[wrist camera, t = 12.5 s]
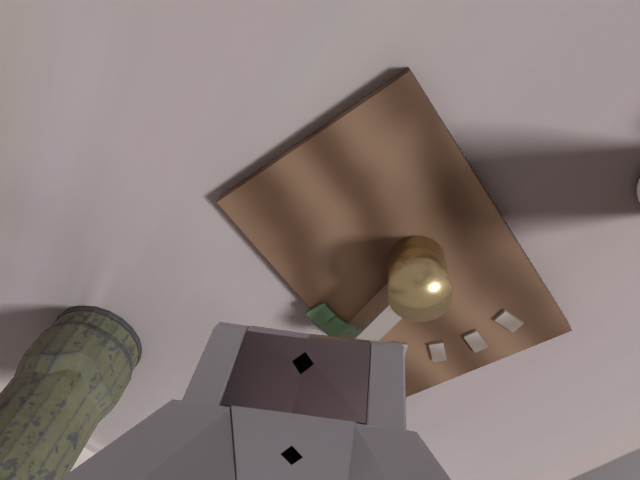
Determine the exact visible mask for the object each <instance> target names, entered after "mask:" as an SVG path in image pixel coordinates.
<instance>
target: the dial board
mask: <svg viewBox="0 0 640 480" xmlns="http://www.w3.org/2000/svg"><path fill="white" fill-rule="evenodd" d="M217 204H218V205H219V206H220V207H221V208H222V209H223V210H224V212H225V213H226V214H227V215H228V216H229V217H230V218H231V220H232V221H233V222H234V223H235V224H236V225H237V226H238V227H239V229H240V230H241V231H242V232H243V233H244V234H245V235H246V236H247V238H248V239H249V240H250V241H251V242H252V243H253V244H254V246H255V247H256V248H257V249H258V250H259V251H260V252H261V253H262V255H263V256H264V257H265V258H266V259H267V260H268V261H269V262H270V264H271V265H272V266H273V267H274V268H275V269H276V270H277V272H278V273H279V274H280V275H281V276H282V277H283V278H284V279H285V281H286V282H287V283H288V284H289V285H290V286H291V287H292V288H293V290H294V291H295V292H296V293H297V294H298V295H299V296H300V298H301V299H302V300H303V301H304V302H305V303H306V304H307V305H308V307H309V308H310V310H308V311H306V315H307V316H308V317H309V318H310V319H311V320H312V321H313V322H314V323H315V324H316V325H317V326H318V327H319V328H320V329H321V330H322V331H324V332H325V333H327V334H328V335H329V336H334V337H339V333H340V331H341V330H342V329H343V328H344V327H345V326H346V325H347V324H348V323H349V322H350V321H351V320H352V319H353V318H354V317H355V316H356V315H357V314H358V313H359V312H360V311H361V310H362V309H363V308H364V307H365V306H366V305H367V304H368V302H369V301H370V300H371V299H372V298H373V297H374V296H375V295H376V294H377V293H378V292H379V291H380V290H381V289H382V288H383V287H384V286H385V285H386V284H387V283H388V255H389V252H390V250H391V248H392V247H393V246H394V245H395V244H396V243H397V242H398V241H400V240H401V239H403V238H406V237H409V236H425V237H429V238H431V239H433V240H435V241H436V242H437V243H438V244H439V245H440V246H441V247H442V248H443V250H444V253H445V258H446V263H447V269H448V274H449V280H450V285H451V291H452V302H451V305H450V307H449V308H448V310H447V311H446V312H445V313H444V314H443V315H441V316H440V317H438V318H436V319H434V320H431V321H426V322H413V321H409V320H406V319H403V318H402V319H401V320H400V321H399V322H398V323H397V324H396V325H395V326H394V327H393V328H391V329H390V330H389V331H388V332H387V333H386V334H385V335H384V336H383V337H382V338H381V339H380V340H379V341H383V342H392V343H402V344H403V346H404V348H405V392H406V397H408V396H410V395H413V394H415V393H418V392H420V391H423V390H425V389H427V388H430V387H432V386H435V385H437V384H440V383H442V382H445V381H447V380H450V379H452V378H455V377H457V376H460V375H462V374H465V373H467V372H470V371H472V370H475V369H477V368H480V367H482V366H485V365H487V364H490V363H492V362H495V361H497V360H500V359H502V358H505V357H507V356H510V355H512V354H515V353H517V352H520V351H522V350H525V349H527V348H530V347H532V346H535V345H537V344H539V343H542V342H544V341H547V340H549V339H552V338H554V337H557V336H559V335H562V334H564V333H567V332H569V331H572V329H571V327H570V325H569V323H568V321H567V319H566V318H565V316H564V314H563V313H562V311H561V310H560V308H559V306H558V305H557V303H556V302H555V300H554V298H553V297H552V295H551V294H550V292H549V291H548V289H547V287H546V286H545V284H544V283H543V281H542V279H541V278H540V276H539V275H538V273H537V271H536V270H535V268H534V267H533V265H532V263H531V262H530V260H529V259H528V257H527V255H526V254H525V252H524V251H523V249H522V247H521V246H520V244H519V243H518V241H517V239H516V238H515V236H514V235H513V233H512V231H511V230H510V228H509V227H508V225H507V223H506V222H505V220H504V219H503V217H502V215H501V214H500V212H499V211H498V209H497V207H496V206H495V204H494V203H493V201H492V199H491V198H490V196H489V195H488V193H487V191H486V190H485V188H484V187H483V185H482V183H481V182H480V180H479V179H478V177H477V176H476V174H475V172H474V171H473V169H472V168H471V166H470V164H469V163H468V161H467V160H466V158H465V156H464V155H463V153H462V152H461V150H460V148H459V147H458V145H457V144H456V142H455V140H454V139H453V137H452V136H451V134H450V132H449V131H448V129H447V128H446V126H445V124H444V123H443V121H442V120H441V118H440V116H439V115H438V113H437V112H436V110H435V108H434V107H433V105H432V104H431V102H430V100H429V99H428V97H427V96H426V94H425V92H424V91H423V89H422V88H421V86H420V84H419V83H418V81H417V80H416V78H415V76H414V75H413V73H412V72H411V70H410V68H409V67H408V68H407V69H406V70H404V71H403V72H401V73H400V74H398V75H397V76H395V77H394V78H392V79H391V80H389V81H388V82H387V83H385V84H384V85H382V86H381V87H379V88H378V89H376V90H375V91H373V92H372V93H370V94H369V95H368V96H366V97H365V98H363V99H362V100H360V101H359V102H357V103H356V104H354V105H353V106H351V107H350V108H349V109H347V110H346V111H344V112H343V113H341V114H340V115H338V116H337V117H335V118H334V119H332V120H331V121H330V122H328V123H327V124H325V125H324V126H322V127H321V128H319V129H318V130H316V131H315V132H313V133H312V134H311V135H309V136H308V137H306V138H305V139H303V140H302V141H300V142H299V143H297V144H296V145H294V146H293V147H292V148H290V149H289V150H287V151H286V152H284V153H283V154H281V155H280V156H278V157H277V158H275V159H274V160H273V161H271V162H270V163H268V164H267V165H265V166H264V167H262V168H261V169H259V170H258V171H256V172H255V173H254V174H252V175H251V176H249V177H248V178H246V179H245V180H243V181H242V182H240V183H239V184H237V185H236V186H235V187H233V188H232V189H230V190H229V191H227V192H226V193H224V194H223V195H221V196H220V198H219V200H218V201H217Z"/></svg>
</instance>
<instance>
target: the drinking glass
mask: <svg viewBox="0 0 640 480" xmlns="http://www.w3.org/2000/svg"><path fill="white" fill-rule="evenodd" d="M637 197H638V201H639V203H640V178H639V181H638V184H637Z"/></svg>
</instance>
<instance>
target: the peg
mask: <svg viewBox="0 0 640 480" xmlns="http://www.w3.org/2000/svg"><path fill="white" fill-rule="evenodd" d="M451 302H452V291H451V285H450V280H449V274H448V269H447V263H446V258H445V253H444V250H443V248H442V247H441V246H440V245H439V244H438V243H437V242H436V241H435V240H433V239H431V238H429V237H425V236H409V237H406V238H403V239H401V240H400V241H398V242H397V243H396V244H395V245H394V246H393V247H392V248H391V250H390V252H389V255H388V283H387V284H386V285H385V286H384V287H383V288H382V289H381V290H380V291H379V292H378V293H377V294H376V295H375V296H374V297H373V298H372V299H371V300H370V301H369V302H368V304H367V305H366V306H365V307H364V308H363V309H362V310H361V311H360V312H359V313H358V314H357V315H356V316H355V317H354V318H353V319H352V320H351V321H350V322H349V323H348V324H347V325H346V326H345V327H344V328H343V329H342V330H341V331H340V333H339V337H343V338H353V339H362V340H370V342H371V341H372V340H373V341H379V340H380V339H381V338H382V337H383V336H384V335H385V334H386V333H387V332H388V331H389V330H390V329H391V328H393V327H394V326H395V325H396V324H397V323H398V322H399V321H400V320H401V319H402V318H403V319H406V320H409V321H413V322H426V321H431V320H434V319H436V318H438V317H440V316H441V315H443V314H444V313H445V312H446V311H447V310H448V308H449V307H450V305H451Z"/></svg>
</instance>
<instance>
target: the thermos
mask: <svg viewBox="0 0 640 480" xmlns="http://www.w3.org/2000/svg"><path fill="white" fill-rule="evenodd" d="M141 353H142V347H141V343H140V339H139V337H138V336H137V334H136V332H135V331H134V329H133V328H132V327H131V326H130V325H129V324H128V323H127V322H126V321H124V320H123V319H122V318H120V317H119V316H117V315H115V314H113V313H112V312H110V311H107V310H104V309H101V308H98V307H91V306H78V307H74V308H70V309H68V310H66V311H65V312H63V313H62V314H61V315H60V316H59V317H58V318H57V320H56V321H55V323H54V324H53V325H52V326H51V327H50V328H48V329H47V330H45V331H44V332H43V333H42V334H41V335H40V336H39V338H38V339H37V340H36V341H35V342H34V343H33V345H32V346H31V347H30V348H29V349H28V350H27V352H26V353H25V354H24V356H23V358H22V359H21V361H20V363H19V365H18V368H17V371H16V373H15V376H14V377H13V379H12V380H11V381H10V382H9V383H8V385H7V386H6V387H5V388H4V389H3V391H2V392H1V393H0V480H60V479H61V478H63V477H64V476H65V475H67V474H68V473H69V472H70V470H71V468H72V467H73V465H74V463H75V462H76V460H77V458H78V457H79V455H80V453H81V451H82V450H83V448H84V446H85V445H86V443H87V441H88V440H89V438H90V436H91V434H92V433H93V431H94V429H95V428H96V426H97V424H98V423H99V422H100V421H101V420H102V419H103V418H104V417H105V416H106V415H107V414H108V413H109V412H110V411H111V410H112V409H113V408H114V406H115V405H116V404H117V402H118V401H119V399H120V397H121V395H122V394H123V392H124V390H125V388H126V387H127V385H128V383H129V381H130V380H131V374H132V371H133V369H134V368H135V366H136V365H137V364H138V362H139V360H140V358H141Z"/></svg>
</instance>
